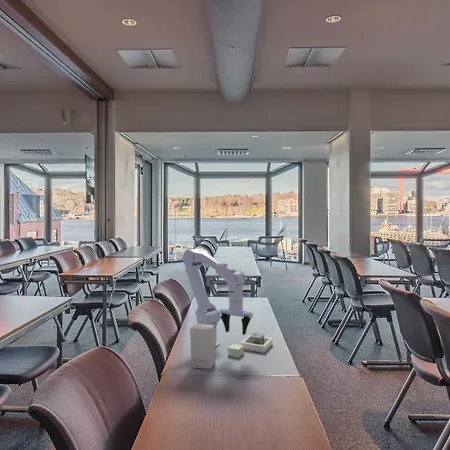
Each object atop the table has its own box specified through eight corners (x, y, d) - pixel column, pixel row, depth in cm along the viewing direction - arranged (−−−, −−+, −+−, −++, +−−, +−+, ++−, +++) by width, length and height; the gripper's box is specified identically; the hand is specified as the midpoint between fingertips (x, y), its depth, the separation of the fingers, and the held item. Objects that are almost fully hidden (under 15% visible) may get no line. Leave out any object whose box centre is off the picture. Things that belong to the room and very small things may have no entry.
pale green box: (238, 357, 155) (238, 349, 155) (227, 355, 157) (227, 347, 157) (243, 353, 160) (243, 345, 160) (232, 351, 162) (232, 343, 162)
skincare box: (215, 363, 149) (215, 324, 148) (210, 370, 143) (210, 329, 142) (195, 361, 151) (195, 322, 151) (189, 367, 145) (189, 327, 144)
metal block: (260, 348, 164) (260, 338, 164) (249, 346, 166) (249, 336, 166) (264, 344, 168) (264, 334, 168) (253, 342, 171) (253, 333, 170)
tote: (264, 353, 160) (264, 346, 160) (240, 348, 165) (240, 342, 164) (272, 344, 170) (272, 338, 170) (249, 340, 175) (249, 334, 174)
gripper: (255, 300, 158) (255, 332, 159) (224, 297, 164) (224, 327, 165) (249, 304, 152) (249, 337, 152) (217, 300, 158) (217, 332, 158)
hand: (235, 332), depth 158 cm, fingers open, 7 cm apart
